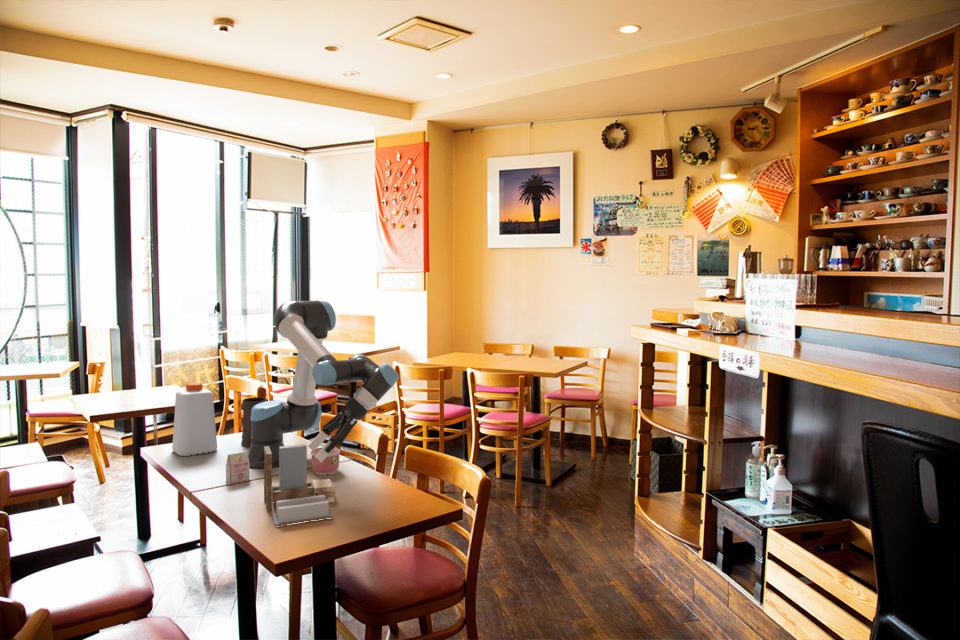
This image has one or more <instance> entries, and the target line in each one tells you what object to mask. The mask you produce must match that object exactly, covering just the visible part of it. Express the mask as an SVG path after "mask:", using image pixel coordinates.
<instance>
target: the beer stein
mask: <svg viewBox="0 0 960 640" xmlns="http://www.w3.org/2000/svg"><path fill="white" fill-rule="evenodd" d="M266 401H267V399H266V398H265V397H247V398H243V399H242V402H241V405H242V434H241V442H240V444H241V446H243V447H245V446H246V448H247V447H249V448H250V446H251V419H250V418H251V410H252V408H253V407H254V406H255V405H257V404H259V403H262V402H266Z"/></svg>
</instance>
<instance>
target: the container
mask: <svg viewBox="0 0 960 640" xmlns="http://www.w3.org/2000/svg"><path fill="white" fill-rule="evenodd" d="M323 447H324V446H323ZM323 447H318V448H317V449H316V450H315V451H313V450H312V449H311V451H310V455H311V468H312V471H314V474H315V473H316V474H315V475H317V474H319V475H318V476H327V475H326V474H331V475H333V474H332V473H334V472H335V473H337V470H338V469H339V466H340V453H341V449H340V448H338V447H335V448H334V449H333V450H332V451H331V453H330V454H329V455H328V456H327V457H326V458H325V459H324V460H323V461H322V462H320V461H319V460H318V459H317V458H315V455H316V454H317V453H318V452H319V451H320V450H321V449H322V448H323ZM335 473H334V474H335Z"/></svg>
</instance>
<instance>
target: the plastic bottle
mask: <svg viewBox="0 0 960 640" xmlns="http://www.w3.org/2000/svg"><path fill="white" fill-rule="evenodd" d="M216 429H217V428H216V418H215V405H214V393H213V392H212V391H211V390H209V389H207V388H203V383H201V382H190V383H187V384H186V385H185V389H181V390H178V391H177V392H176V393H175V405H174V420H173V433H172V445H171V446H172V451H173V452H174V453H176V454H177V455H178V456H180V457H191V456H190V455H192V456H197V455H196V454H199V455H203V454H202V453H205V454H209V453H208V452H210V453H213V451H214V452H215V451H216V450H217V449H218V440H217V430H216Z"/></svg>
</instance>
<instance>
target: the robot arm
mask: <svg viewBox="0 0 960 640" xmlns="http://www.w3.org/2000/svg"><path fill="white" fill-rule="evenodd" d="M336 316H337V315H336V312H335V309H334V307H333V306H332V304H331V303H330V302H328V301H325V300H318V299H316V300H290V301H286V302H284V303H283V304H281V305H280V306H279V307H278V308H277V310H276V311H275V312H274V317H273V325H274V327H275V330H276V331H277V332H278V334H279V335H280V336H281V337H283V338H284V339H288V341H289V342H290V343H291V344H292V345H293V346H294V348H295V349H296V350H297V356H296V363H295V372H294V378H293V379H294V380H293V385H292V393H289V394H288V395H287V397H286V398H287V399H286V403H284V402H283V401H282V400H268V401H267V400H266V402H262V403H259V404H257V405H255V406H254V407H253V408H252V410H251V418H250V419H251V446H250V447H249V450H248V458H249V464H250V468H252V469H253V468H255V469H264V447H265V446H269V448H270V450H271V453H272V468H276V467H279V447H280V446H285V444H284V434H289V433H296V432H300V431H308V430H310V429H311V430H312V429H315V427H317V426H318V425H319V423H320V421H321V418H322V406H321V403H320V401H319V400H318V398H317V396H316V395H315V393H316V387H317V385H318V386H330V385H331V386H332V385H337V384H344V383H353V382H355V383H356V382H362V383H363V384H362V385H361V386H359V388H358V389H357V390H356V391H355V392H354V393H353V396H352V397H350V398H349V399H348V400H347V401H346V402H345V404H344V406H345V408H346V409H345V408H342V409H341V410H340V411H339V412H338V413H337V414H336V415H334V417H332V418H331V419H330V420H329V421H327V422H326V423H325V424H324V425H323V426H322V429H321V430H320V432H319V433H318V434H317V435H316V436H315V437H314V438H313V440H312V441H310V442H309V443H308V445H307V447H308V448H309V449H310V450H311V451H312V450H313V451H315V450H316V449H317V448H320V446H321V445H322V443H323V442H325V440H327V438H328V437H330V436H331V433H333V432H334V431H335V433H334V434H333V436H332V437H331V438H329V439H328V442H326V443H325V445H324V446H323V448H322V447H321V448H322V449H321V450H320V451H319V452H318V453H317V454H316V455H315V458H317V459H318V460H319V461H320V462H322V461H323V460H324V459H325V458H326V457H327V456H328V455H329V454H330V453H331V451H332V450H333V449H334V448H337V447H341V446H342V445H343V443H344V441H345V440H346V438H347V437H348V435H349V434H350V432H351V431H352V429H353V428H354V427H355V426H356V424H357V423H358V422H359V421H358V420H357V418H358V419H359V420H363V419H364V418H365V417H366V415H367V414H368V413H369V411H371V410H372V409H373V407H376V406H377V405H378V404H377V403H378V402H379V401H380V400H381V399H382V398H383V397H384V396H385V395H386V393H388V392H389V390H390V389H392V388H393V387H394V385H395V384H396V383H397V382H398V380H399V378H400V374H399V372H397V371H396V370H395V369H394V368H393V367H392V366H391V365H390V364H388V363H386V362H383V363H382V364H380V365H378V364H377V363H376V362H375V361H373V360H372V359H371V358H369V357H367V355H366V356H365V355H364V354H360V353H358V354H355V355H354V356H353V355H352V357H351V358H350V359H343V360H341V359H339V360H338V359H337V358H335V356H333V354H332V353H331V352H330V351H329V350H328V349H327V348H326V347H325V346H324V344H323V341H324V340H325V339H327V338H328V333H329V332H330V331H332V330H334V328H335V327H336V322H337V317H336Z"/></svg>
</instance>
